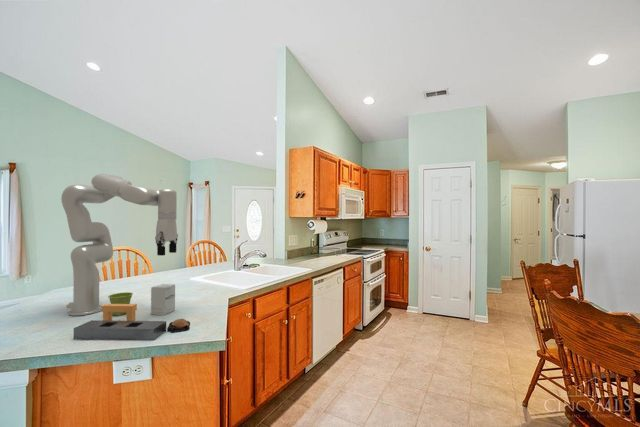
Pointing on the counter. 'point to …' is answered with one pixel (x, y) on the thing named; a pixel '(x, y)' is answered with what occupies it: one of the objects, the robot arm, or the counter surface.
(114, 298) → the plant pot
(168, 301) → the supplement box
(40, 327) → the counter surface
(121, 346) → the counter surface
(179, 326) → the toy turtle
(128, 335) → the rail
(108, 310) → the light wooden bench shape
